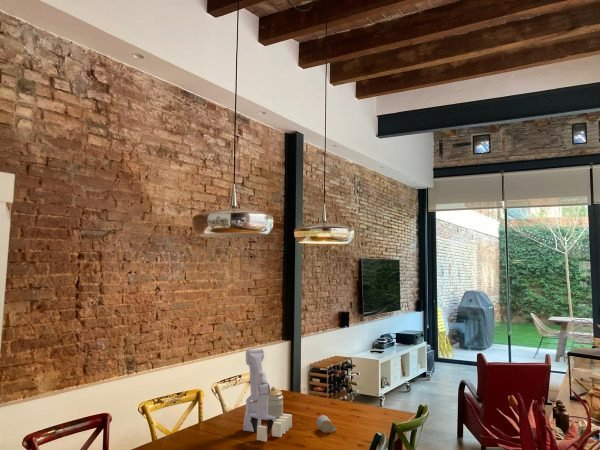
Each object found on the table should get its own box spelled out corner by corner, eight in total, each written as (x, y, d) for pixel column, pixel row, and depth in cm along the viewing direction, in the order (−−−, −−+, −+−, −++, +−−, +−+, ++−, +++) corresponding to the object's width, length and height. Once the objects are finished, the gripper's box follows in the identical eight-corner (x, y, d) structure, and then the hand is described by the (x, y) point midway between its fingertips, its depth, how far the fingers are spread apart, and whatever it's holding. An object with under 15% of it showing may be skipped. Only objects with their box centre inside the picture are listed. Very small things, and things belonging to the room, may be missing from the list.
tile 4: (272, 435, 250) (272, 422, 251) (273, 434, 252) (273, 421, 253) (280, 437, 249) (280, 423, 249) (282, 435, 250) (282, 422, 251)
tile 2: (279, 429, 260) (279, 417, 260) (280, 428, 262) (280, 416, 262) (287, 431, 258) (287, 418, 259) (288, 430, 260) (288, 417, 261)
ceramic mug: (320, 434, 254) (321, 419, 255) (316, 429, 262) (316, 415, 263) (338, 433, 257) (338, 418, 258) (333, 428, 265) (333, 414, 266)
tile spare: (256, 440, 244) (257, 426, 244) (258, 438, 245) (258, 425, 246) (265, 441, 242) (265, 427, 243) (266, 440, 244) (267, 426, 244)
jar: (280, 420, 276) (280, 390, 278) (259, 418, 279) (260, 388, 280) (285, 413, 289) (285, 385, 290) (265, 412, 291) (266, 383, 293)
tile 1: (282, 427, 264) (282, 414, 265) (283, 426, 266) (283, 413, 267) (290, 428, 263) (290, 415, 263) (291, 427, 265) (291, 414, 265)
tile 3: (275, 432, 255) (275, 419, 256) (277, 431, 257) (277, 418, 258) (284, 434, 253) (284, 420, 254) (285, 432, 255) (285, 419, 256)
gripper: (247, 407, 244) (246, 434, 243) (272, 410, 239) (271, 437, 238) (252, 403, 251) (252, 429, 249) (277, 407, 246) (276, 433, 244)
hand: (262, 433), depth 244 cm, fingers open, 7 cm apart
